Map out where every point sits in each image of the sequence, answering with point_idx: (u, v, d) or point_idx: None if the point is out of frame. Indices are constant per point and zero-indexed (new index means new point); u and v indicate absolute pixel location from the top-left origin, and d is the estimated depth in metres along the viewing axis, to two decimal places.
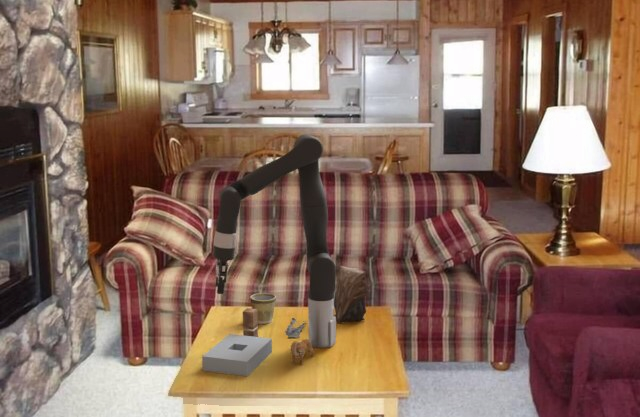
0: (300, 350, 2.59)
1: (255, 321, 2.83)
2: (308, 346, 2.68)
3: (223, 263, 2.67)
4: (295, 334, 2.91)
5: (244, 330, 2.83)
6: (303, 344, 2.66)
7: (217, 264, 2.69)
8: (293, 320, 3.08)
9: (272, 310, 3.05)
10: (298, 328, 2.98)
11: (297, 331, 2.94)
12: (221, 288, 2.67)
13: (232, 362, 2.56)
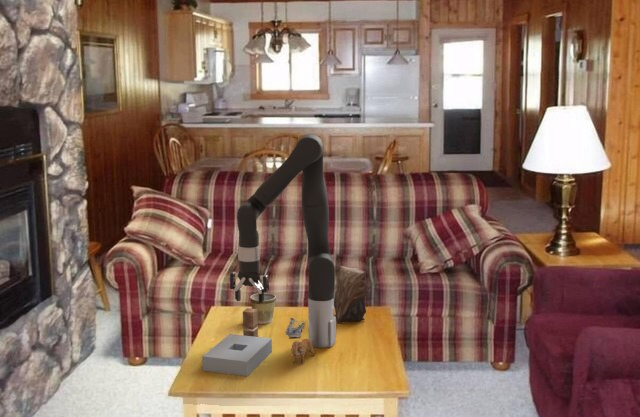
0: (301, 349, 2.60)
1: (255, 321, 2.83)
2: (309, 345, 2.69)
3: (258, 274, 2.79)
4: (296, 334, 2.91)
5: (244, 330, 2.83)
6: (304, 343, 2.66)
7: (251, 278, 2.78)
8: (292, 320, 3.08)
9: (272, 310, 3.05)
10: (298, 328, 2.98)
11: (298, 331, 2.94)
12: (263, 297, 2.80)
13: (232, 362, 2.56)
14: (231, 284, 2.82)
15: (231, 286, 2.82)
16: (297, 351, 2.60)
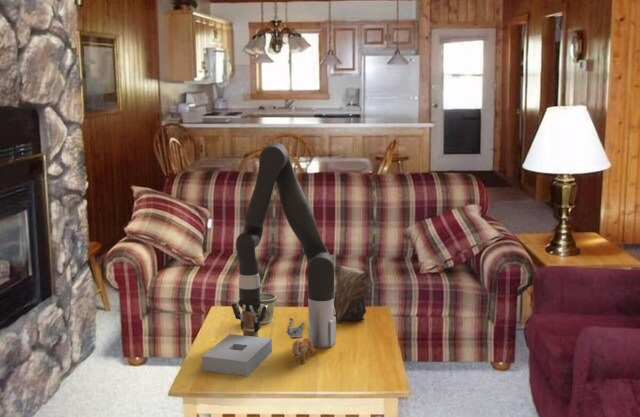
0: (302, 349, 2.60)
1: None
2: (309, 345, 2.69)
3: (260, 302, 2.81)
4: (297, 334, 2.91)
5: (244, 330, 2.83)
6: (305, 343, 2.67)
7: (252, 305, 2.80)
8: (291, 320, 3.08)
9: (272, 310, 3.05)
10: (298, 328, 2.98)
11: (299, 331, 2.94)
12: (259, 326, 2.83)
13: (232, 362, 2.56)
14: (236, 314, 2.84)
15: (237, 316, 2.84)
16: (298, 351, 2.61)
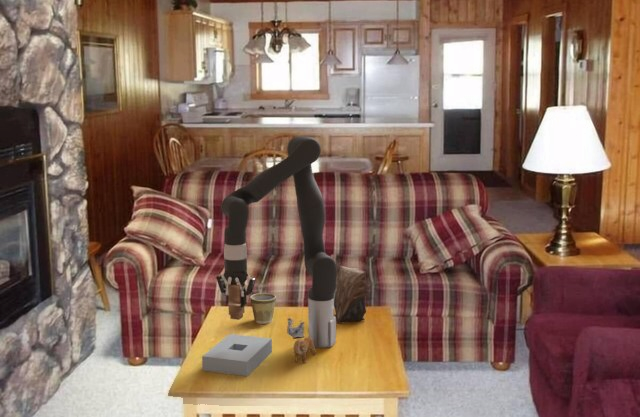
0: (303, 348, 2.61)
1: None
2: (310, 344, 2.70)
3: (246, 274, 2.61)
4: (299, 334, 2.91)
5: (229, 305, 2.63)
6: (306, 342, 2.68)
7: (238, 278, 2.60)
8: (289, 320, 3.07)
9: (272, 310, 3.05)
10: (299, 328, 2.98)
11: (300, 331, 2.94)
12: (245, 300, 2.63)
13: (232, 362, 2.56)
14: (221, 287, 2.64)
15: (222, 290, 2.64)
16: (299, 350, 2.61)
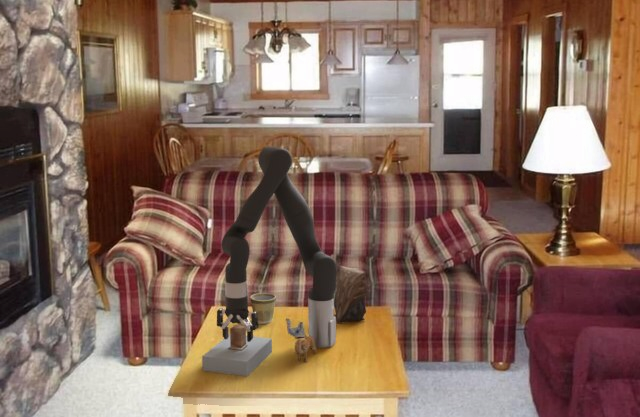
0: (305, 347, 2.62)
1: (243, 339, 2.65)
2: (311, 343, 2.71)
3: (247, 311, 2.63)
4: (301, 334, 2.92)
5: (231, 348, 2.65)
6: (307, 341, 2.68)
7: (239, 315, 2.62)
8: (288, 321, 3.07)
9: (272, 310, 3.05)
10: (299, 328, 2.98)
11: (301, 331, 2.94)
12: (252, 335, 2.64)
13: (232, 362, 2.56)
14: (218, 321, 2.66)
15: (218, 323, 2.66)
16: (301, 349, 2.62)
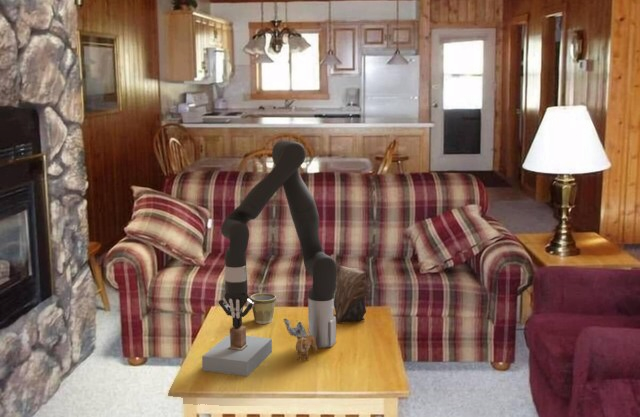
0: (306, 346, 2.63)
1: (243, 339, 2.65)
2: (312, 342, 2.72)
3: (247, 297, 2.62)
4: (302, 333, 2.92)
5: None
6: (308, 340, 2.69)
7: (239, 300, 2.61)
8: (286, 321, 3.07)
9: (272, 310, 3.05)
10: (299, 327, 2.98)
11: (302, 330, 2.94)
12: (241, 321, 2.64)
13: (232, 362, 2.56)
14: (226, 311, 2.64)
15: (228, 312, 2.64)
16: (302, 348, 2.63)
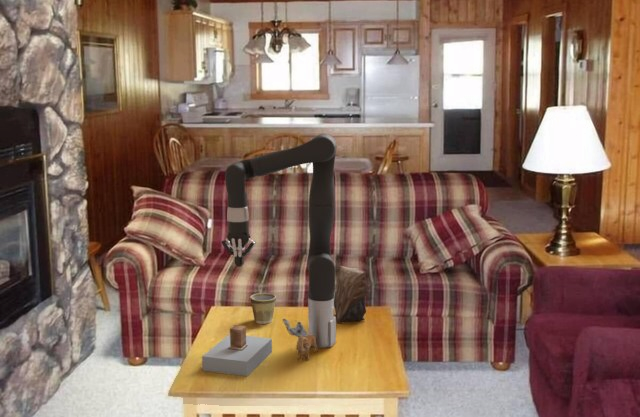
0: (307, 346, 2.63)
1: (243, 339, 2.65)
2: (313, 342, 2.72)
3: (249, 237, 2.78)
4: (303, 333, 2.92)
5: None
6: (308, 340, 2.70)
7: (241, 239, 2.77)
8: (285, 321, 3.07)
9: (272, 310, 3.05)
10: (299, 327, 2.98)
11: (303, 330, 2.94)
12: (243, 260, 2.80)
13: (232, 362, 2.56)
14: (229, 250, 2.80)
15: (231, 251, 2.80)
16: (303, 347, 2.63)
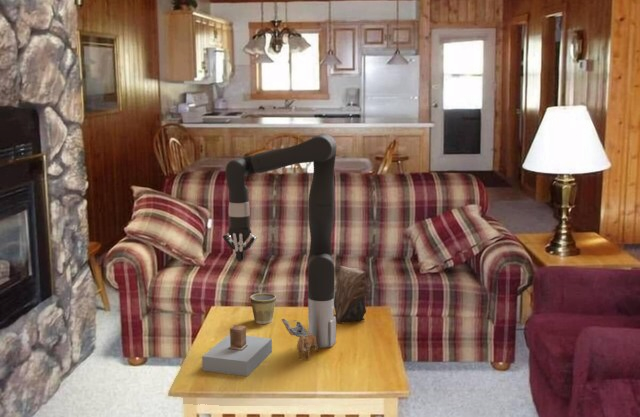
0: (307, 345, 2.64)
1: (243, 339, 2.65)
2: (313, 341, 2.73)
3: (250, 232, 2.82)
4: (304, 333, 2.92)
5: (231, 348, 2.65)
6: (309, 339, 2.70)
7: (242, 234, 2.81)
8: (284, 321, 3.06)
9: (272, 310, 3.05)
10: (299, 327, 2.98)
11: (303, 330, 2.94)
12: (244, 255, 2.84)
13: (232, 362, 2.56)
14: (230, 245, 2.84)
15: (232, 246, 2.83)
16: (303, 347, 2.64)
